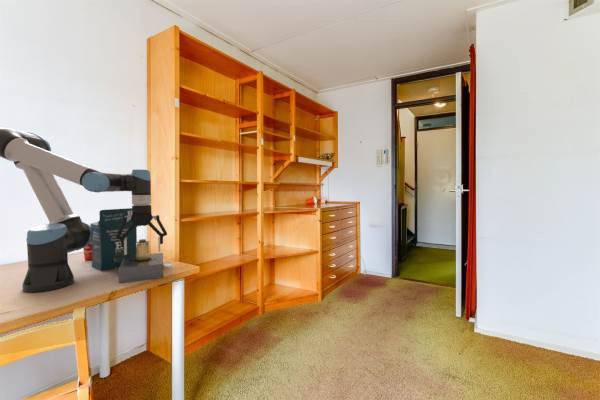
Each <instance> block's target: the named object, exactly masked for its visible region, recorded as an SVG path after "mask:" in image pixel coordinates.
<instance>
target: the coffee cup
mask: <svg viewBox="0 0 600 400" xmlns="http://www.w3.org/2000/svg"><path fill="white" fill-rule="evenodd" d="M82 249H83V258H84V261H88V262H89V261H90V262H92V240H91V242H90V243H89V244H88V245H87V246H86V247H83V248H82Z"/></svg>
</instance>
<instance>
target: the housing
mask: <svg viewBox="0 0 600 400" xmlns="http://www.w3.org/2000/svg"><path fill="white" fill-rule="evenodd" d="M149 255H150V260H149V261H145V262H136V255H133V256H125V257H124V259H123V261H122V263H121V265H120V267H119V268H118V284H123V283H124V284H125V283H133V282H140V281H142V282H143V281H148V280H157V279H164V254H163V252H158V253H149Z"/></svg>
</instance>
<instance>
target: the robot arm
mask: <svg viewBox="0 0 600 400" xmlns="http://www.w3.org/2000/svg"><path fill="white" fill-rule="evenodd" d="M0 158H2V159H5V160H8V161H9V162H12V163H13V164H14V165H15V167H16V168H17V169H20V170H22V171H23V173H24V176H25V177H26V179H27V180H28V183H29V184H30V186H31V189H32V190H33V192H34V194H35V196H36V199H37V200H38V202H39V204H40V207H41V208H42V210H43V212H44V214H45V215H46V217H47V220H48V222H49V223H47V224H41V225H40V224H39V225H36V226H33V227H31V228H30V229H28V231H27V233H26V240H25V241H26V250H27V268H28V269H27V271H26V274H25V276H24V280H23V282H22V291H23V292H26V293H41V292H49V291H53V290H54V291H55V290H58V289H61V288H62V289H63V288H65V287H68V286H70V285H72V284H73V283H75V276H74V274H73V271H72V269H71V267H70V265H69V262H68V261H69V258H68V256H69V255H68V254H69V253H72V252H75V251H79V250H82V249H83V247H86V246H87V245H88V244H89V243H90V242H91V240H92V238H93V230H92V228H91V226H90V224H88V223H86V222H83V220H82V219H81V217H80V215H78V214H74V212H73V210H72V208H71V205H69V202H68V201H67V200H68V199H66V196H65V193H64V192H63V191H62V188H61V186H60V185H59V182H58V181H57V178H56V177H59V178H61V179H64V180H67V181H68V182H72V183H74V184H77V185H79V186H82V187H83V188H84V189H85V190H86V191H89V192H91V193H103V192H104V193H105V192H109V193H110V192H111V193H112V192H131V204H132V206H131V208H132V217H127V216H125V217H124V221H123V224H122V226H121V228H120V230H119V232H118V234H117V236H116V238H117V239H120V240H121V247H124V255H126V254H127V239H125V237H126V236H127V235H128V234H129V232H130V231H131V230H132V229H133V228H134V227H135V226H136V225H137V227H141V226H142V227H147V226H149V227H150V228H151V229H152V230H153V231H154V232H155V233H156V234H157V235H158V236H157V238H158V239H157V242H158V243H157V244H158V247H157V248H158V249H157V250H158V253H161V245H163V243H164V237H165V236H167V235H168V233H167V230H166V229H165V227H164V225H163V223H162V221H161V219H160V215H159V214H157V215H152V205H151V204H152V187H151V186H152V184H151V183H152V177H151V172H150V170H149V169H137V168H136V169H131V171H130V173H109V172H108V173H107V172H101V171H99V170H97V169H94V168H91V167H89V166H87V165H84V164H81V163H79V162H76V161H74V160H72V159H69V158H67V157H64V156H62V155H59V154H56V153H55V152H54V153H53V152H52V147H51V145H50V143H49V141H48V140H46V138H44V137H43V136H41V135H38V134H35V133H33V132H27V131H21V130H18V129H13V128H8V127H0ZM130 219H131V220H132V221H133V222H134V223H133V224H132V226H131V227H130V228H129V229H128V230H127V231H126V232H125V234H124V235H123V236H120V235H121V233H122V231H123V229H124V227H125V225H126V223H127V222H128V221H129V220H130ZM153 219H154V220H155V221H156V223H157V224H158V226H159V227H160V229H161V231H162V232H161V231H160V230H159V229H158V228H157V227H156V226H155V225H154V224H153V223H152V220H153Z"/></svg>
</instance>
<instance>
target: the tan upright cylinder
mask: <svg viewBox="0 0 600 400" xmlns="http://www.w3.org/2000/svg"><path fill="white" fill-rule="evenodd" d="M149 254H150V241H149V240H147V239H145V238H142V239H139V240H138V241H137V242H136V262H145V261H149V260H150V255H149Z"/></svg>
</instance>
